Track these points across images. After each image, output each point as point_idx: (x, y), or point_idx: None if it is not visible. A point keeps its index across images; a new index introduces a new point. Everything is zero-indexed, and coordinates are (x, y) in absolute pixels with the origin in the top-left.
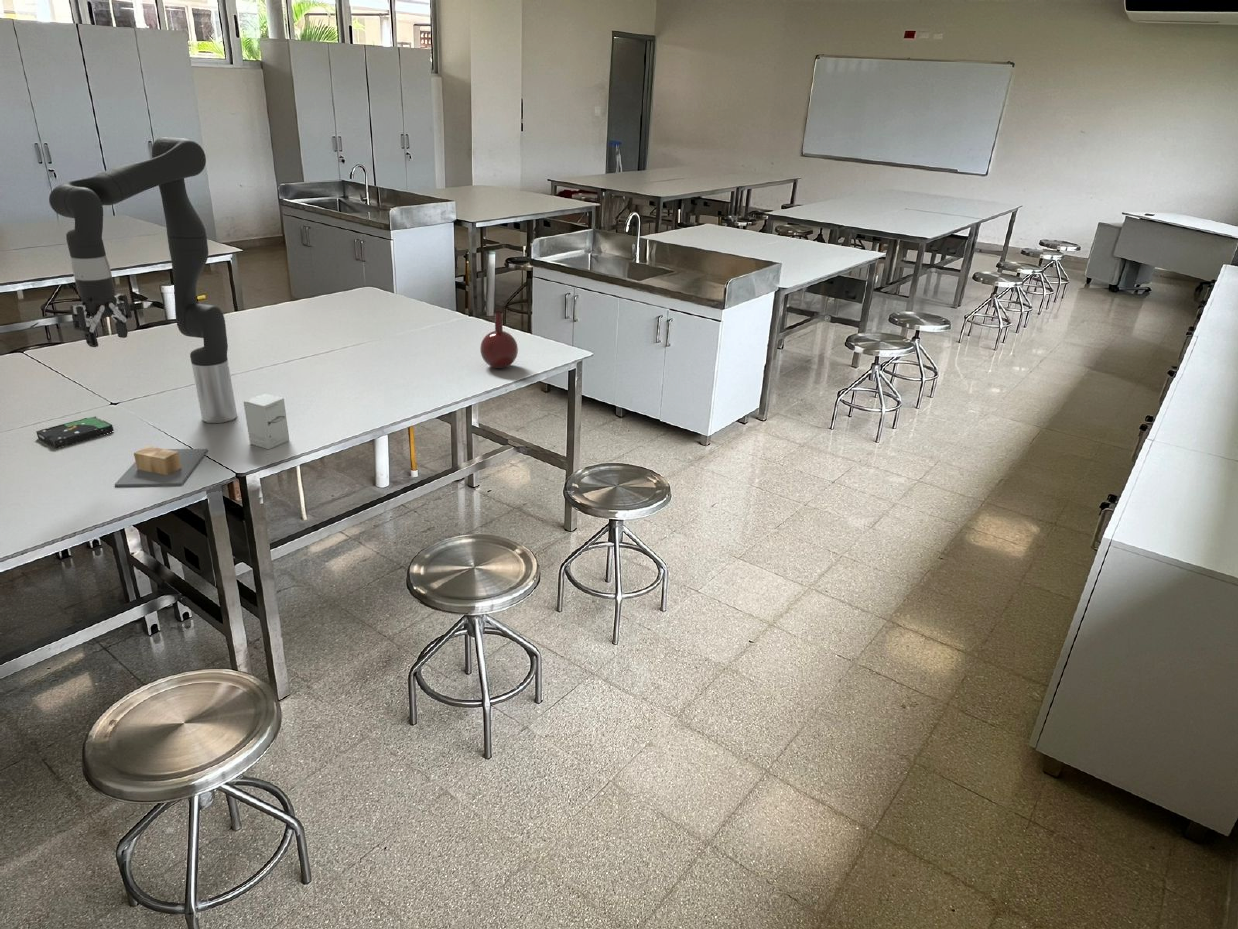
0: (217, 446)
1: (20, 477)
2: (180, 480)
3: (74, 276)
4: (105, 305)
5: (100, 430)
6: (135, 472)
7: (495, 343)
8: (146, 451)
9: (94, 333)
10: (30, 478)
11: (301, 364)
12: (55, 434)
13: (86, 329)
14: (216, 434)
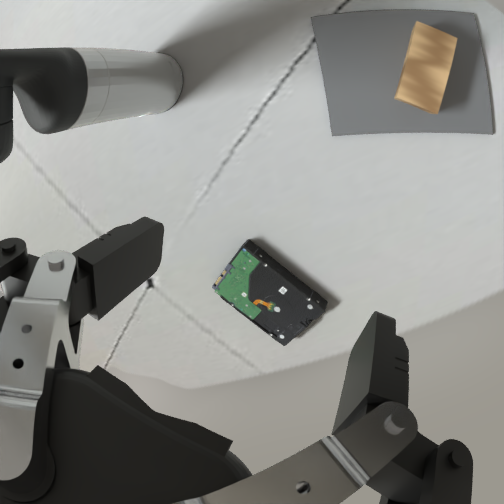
0: (287, 11)
1: (440, 305)
2: (464, 17)
3: None
4: (50, 496)
5: (262, 257)
6: (444, 112)
7: None
8: (426, 89)
9: (381, 385)
10: (446, 290)
11: None
12: (295, 317)
13: (444, 450)
14: (229, 42)
